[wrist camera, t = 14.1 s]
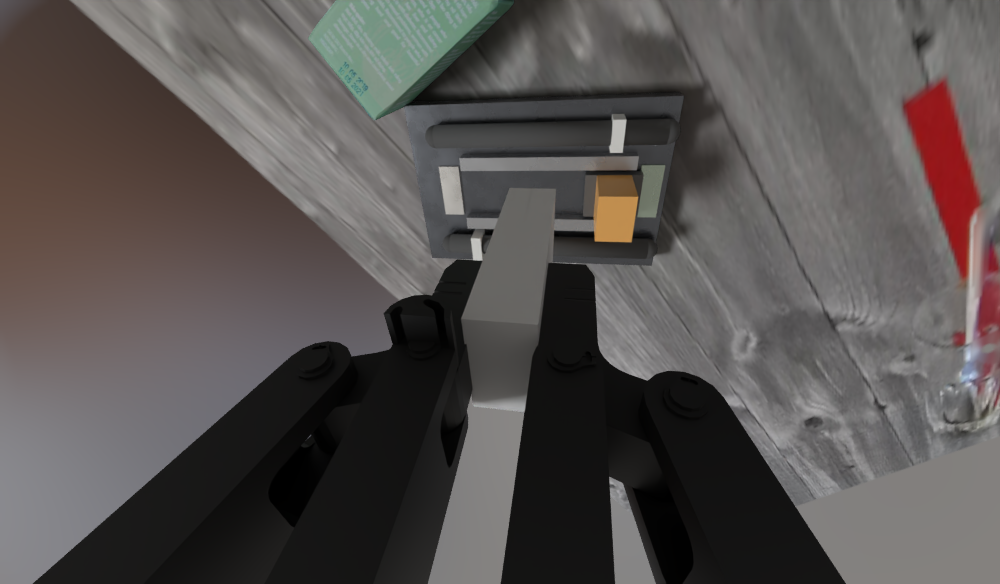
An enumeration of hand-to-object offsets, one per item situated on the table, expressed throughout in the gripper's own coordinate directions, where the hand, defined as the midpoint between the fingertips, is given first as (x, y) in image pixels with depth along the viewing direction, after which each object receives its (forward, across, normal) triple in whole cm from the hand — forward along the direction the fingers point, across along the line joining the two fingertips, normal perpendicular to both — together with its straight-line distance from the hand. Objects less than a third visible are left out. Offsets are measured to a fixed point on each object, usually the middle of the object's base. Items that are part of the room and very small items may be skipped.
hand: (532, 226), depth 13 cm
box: (+27, -11, +5) cm, 30 cm away
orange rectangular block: (+24, +5, -9) cm, 26 cm away
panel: (+26, -2, -9) cm, 28 cm away
